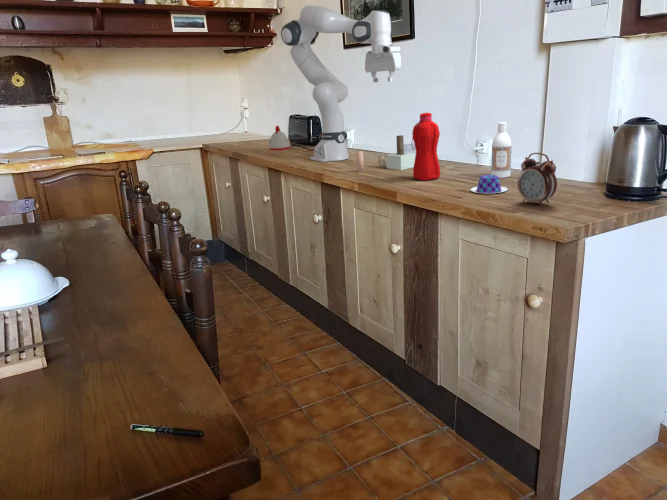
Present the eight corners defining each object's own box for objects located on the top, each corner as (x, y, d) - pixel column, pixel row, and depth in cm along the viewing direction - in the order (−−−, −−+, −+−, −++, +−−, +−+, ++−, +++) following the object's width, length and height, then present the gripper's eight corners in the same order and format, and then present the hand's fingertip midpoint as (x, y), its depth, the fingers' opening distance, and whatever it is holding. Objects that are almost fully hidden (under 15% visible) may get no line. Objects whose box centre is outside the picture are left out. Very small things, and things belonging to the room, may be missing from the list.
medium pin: (356, 172, 228) (354, 151, 225) (361, 171, 230) (360, 150, 227) (360, 172, 226) (359, 152, 223) (365, 171, 227) (364, 151, 225)
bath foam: (491, 178, 193) (492, 123, 187) (491, 174, 199) (492, 122, 193) (510, 178, 191) (512, 122, 185) (510, 174, 197) (512, 121, 191)
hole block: (386, 168, 232) (386, 154, 230) (400, 165, 237) (400, 152, 235) (401, 169, 225) (400, 156, 223) (415, 166, 230) (414, 153, 228)
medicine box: (415, 161, 244) (415, 143, 241) (416, 163, 240) (415, 144, 237) (398, 162, 245) (398, 144, 242) (398, 164, 240) (398, 145, 238)
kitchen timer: (266, 151, 327) (263, 127, 322) (272, 148, 340) (269, 125, 335) (287, 150, 324) (285, 126, 320) (292, 147, 337) (290, 124, 333)
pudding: (496, 196, 166) (497, 180, 164) (463, 193, 174) (463, 178, 172) (514, 189, 174) (514, 174, 172) (481, 186, 182) (482, 171, 180)
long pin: (396, 167, 231) (395, 136, 227) (400, 166, 233) (399, 135, 229) (400, 168, 229) (399, 136, 225) (405, 167, 231) (404, 135, 226)
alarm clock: (515, 202, 156) (517, 152, 151) (525, 199, 158) (527, 150, 153) (547, 208, 147) (550, 155, 142) (557, 205, 149) (561, 152, 145)
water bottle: (406, 179, 204) (404, 114, 196) (430, 175, 207) (429, 111, 200) (419, 182, 195) (417, 114, 188) (443, 178, 199) (443, 112, 192)
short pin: (377, 167, 236) (376, 156, 234) (382, 166, 237) (381, 155, 236) (382, 168, 233) (381, 157, 232) (386, 167, 235) (386, 156, 233)
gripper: (360, 51, 235) (362, 83, 239) (392, 47, 220) (393, 81, 224) (371, 51, 239) (372, 82, 243) (403, 46, 223) (404, 80, 227)
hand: (383, 81), depth 233 cm, fingers open, 8 cm apart
